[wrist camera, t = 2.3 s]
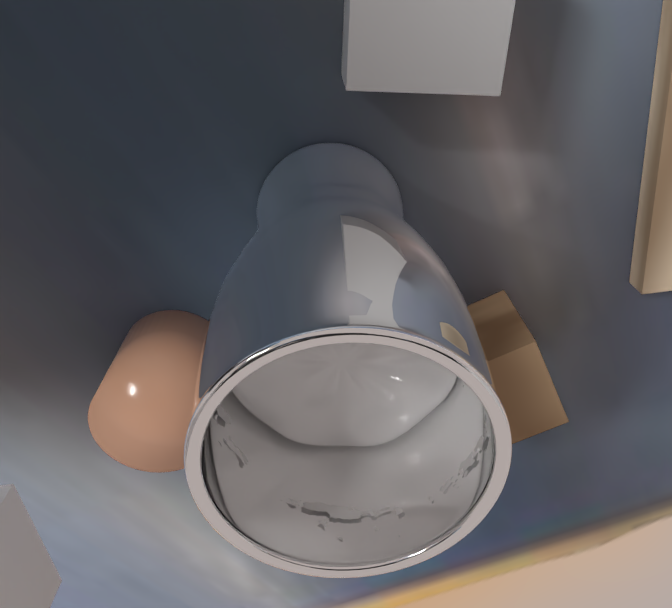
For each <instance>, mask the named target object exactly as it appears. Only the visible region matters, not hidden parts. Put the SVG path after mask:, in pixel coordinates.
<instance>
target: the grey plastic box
mask: <svg viewBox="0 0 672 608" xmlns="http://www.w3.org/2000/svg"><path fill="white" fill-rule="evenodd" d="M515 1H516V0H344V21H343V46H342V70H341V75H342V78H343V82H344V85H345V88H346V91H370V92H398V93H426V94H454V95H482V96H500V95H501V88H502V82H503V76H504V70H505V64H506V57H507V51H508V45H509V39H510V32H511V26H512V20H513V14H514V8H515Z"/></svg>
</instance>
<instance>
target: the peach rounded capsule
mask: <svg viewBox="0 0 672 608" xmlns="http://www.w3.org/2000/svg"><path fill="white" fill-rule="evenodd" d="M208 322H209V321H207V320H206V319H204V318H202V317H200V316H198V315H195V314H193V313H189V312H186V311H180V310H164V311H158V312H155V313H151V314H149V315H147V316H145V317H143V318H141V319H140V320H138V321H137V322H136V323H135V324H134V325H133V326H132V327H131V328H130V330H129V332H128V333H127V335H126V337H125V339H124V341H123V343H122V344H121V346H120V348H119V350H118V352H117V354H116V356H115V358H114V359H113V361H112V363H111V365H110V367H109V369H108V371H107V373H106V375H105V376H104V378H103V380H102V382H101V384H100V386H99V388H98V390H97V392H96V393H95V395H94V397H93V399H92V401H91V404H90V406H89V411H88V424H89V428H90V431H91V434H92V436H93V438H94V440H95V441H96V442H97V444H98V445H99V446H100V448H101V449H102V450H103V451H104V452H105V453H107V454H108V455H109V456H110V457H112V458H113V459H114V460H116V461H118V462H120V463H121V464H124V465H126V466H128V467H131V468H134V469H137V470H142V471H147V472H171V471H177V470H180V469H184V444H185V438H186V434H187V430H188V426H189V424H190V421H191V415H192V408H193V400H194V392H195V386H196V379H197V373H198V367H199V361H200V356H201V351H202V347H203V343H204V339H205V335H206V330H207V326H208Z"/></svg>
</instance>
